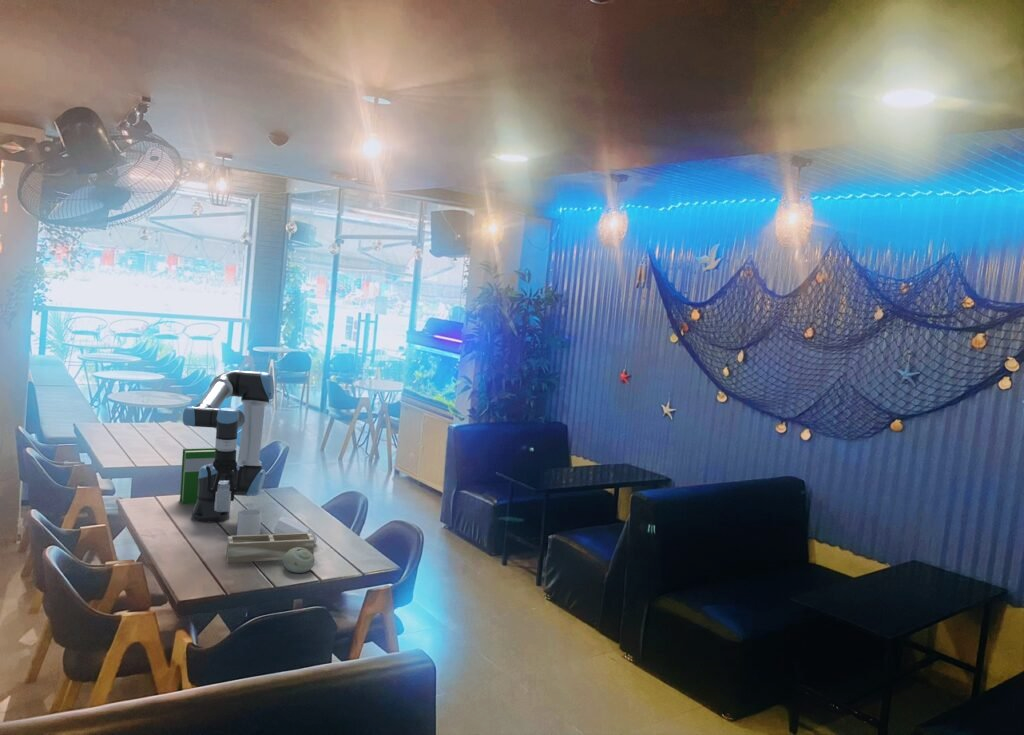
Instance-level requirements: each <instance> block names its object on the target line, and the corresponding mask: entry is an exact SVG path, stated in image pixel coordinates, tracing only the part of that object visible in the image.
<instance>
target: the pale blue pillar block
mask: <svg viewBox="0 0 1024 735" xmlns="http://www.w3.org/2000/svg"><path fill="white" fill-rule="evenodd" d="M229 489H230V482H229V480H226V481H219V483H218V490H217V492H218V498H217V512H228V505H229Z"/></svg>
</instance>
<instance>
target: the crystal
mask: <svg viewBox="0 0 1024 735" xmlns="http://www.w3.org/2000/svg"><path fill="white" fill-rule="evenodd" d="M274 526H275V527H274V528H273V534H284V533H308V532H311V534H312V536H313V538H314V545H315V544H316V543H317V539H318V538H317V536H316V534H315V531H314V530H312V529H310V528H308V527H307V526H305V525H303V524H300V523H299V522H296V521H295V520H293V519H291V518H289V517H286V516H284V515H282V516H281V517H280V518H279V519H278V521H277V523H276V525H274Z"/></svg>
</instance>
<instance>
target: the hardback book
mask: <svg viewBox="0 0 1024 735" xmlns="http://www.w3.org/2000/svg"><path fill="white" fill-rule="evenodd" d="M215 450H216V448H215V447H206V448H205V447H203V448H202V447H201V448H197V447H196V448H182V458H181V459H182V460H181V473H180V474H181V477H180V478H181V479H180V493H179V495H180V496H179V500H180V501H182V505H195V504H196V502H197V496H198V476H199V470H200V468H201V467H202V466H205V465H208V464H213V462H214V460H215Z"/></svg>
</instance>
